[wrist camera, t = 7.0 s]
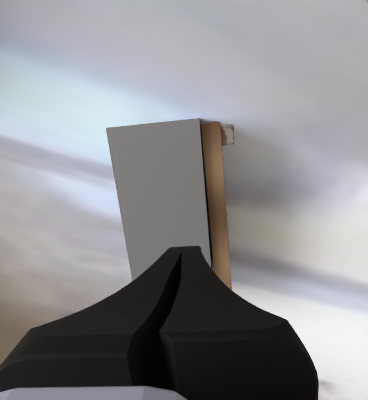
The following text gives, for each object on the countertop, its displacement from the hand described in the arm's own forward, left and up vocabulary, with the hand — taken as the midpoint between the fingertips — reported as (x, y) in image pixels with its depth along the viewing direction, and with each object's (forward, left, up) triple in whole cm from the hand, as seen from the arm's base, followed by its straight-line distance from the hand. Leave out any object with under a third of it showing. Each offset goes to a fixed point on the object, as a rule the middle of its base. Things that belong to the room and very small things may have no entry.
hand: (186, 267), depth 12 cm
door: (0, -2, -10) cm, 10 cm away
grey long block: (0, +1, -10) cm, 10 cm away
